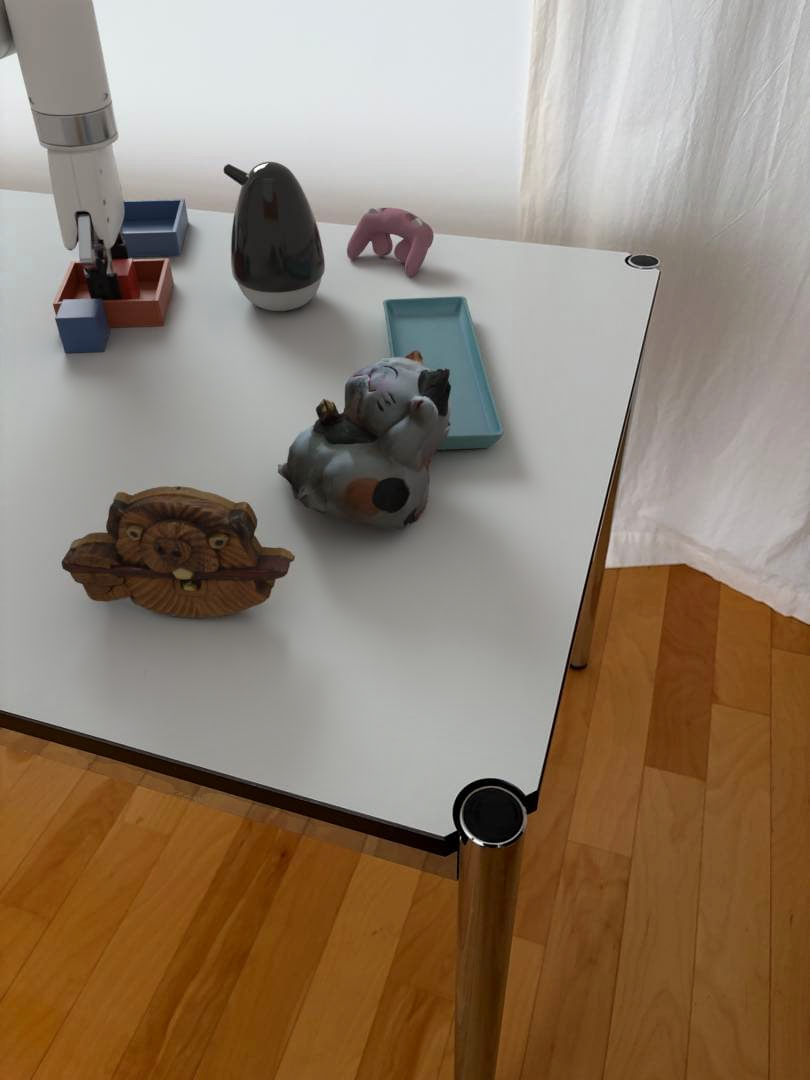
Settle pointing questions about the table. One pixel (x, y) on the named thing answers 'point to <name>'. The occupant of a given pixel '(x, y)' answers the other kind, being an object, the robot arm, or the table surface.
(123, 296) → the red block
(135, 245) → the blue bin
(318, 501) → the lucky cat figurine
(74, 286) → the red bin
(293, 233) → the pump dispenser
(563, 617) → the table surface
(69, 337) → the blue block
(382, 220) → the video game controller
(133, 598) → the wooden carving
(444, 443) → the rectangular tray
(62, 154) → the robot arm
